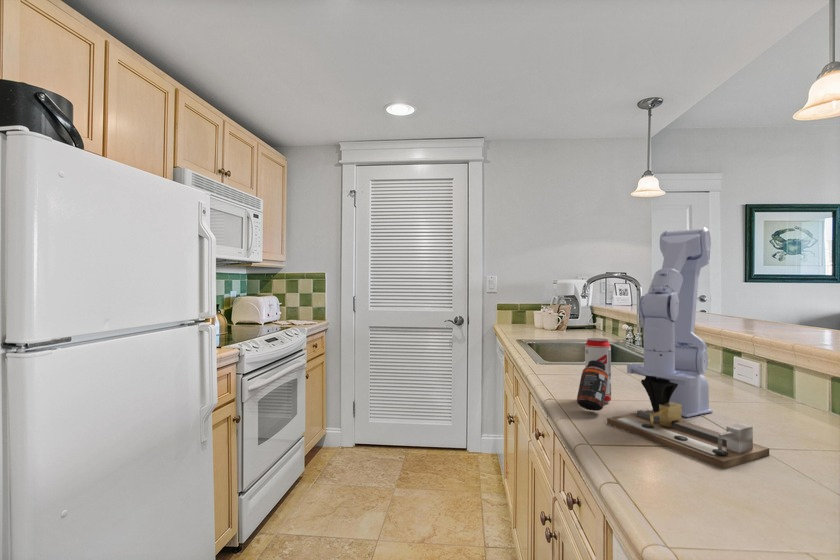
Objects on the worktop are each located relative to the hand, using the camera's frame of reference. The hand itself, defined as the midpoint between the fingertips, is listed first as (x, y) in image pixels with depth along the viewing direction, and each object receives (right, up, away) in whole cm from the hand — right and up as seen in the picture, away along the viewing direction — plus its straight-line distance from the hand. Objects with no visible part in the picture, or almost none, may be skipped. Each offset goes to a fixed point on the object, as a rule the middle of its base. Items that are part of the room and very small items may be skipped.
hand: (659, 413), depth 88 cm
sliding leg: (-1, -2, -3) cm, 3 cm away
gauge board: (+1, -3, -6) cm, 6 cm away
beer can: (-5, -3, +19) cm, 20 cm away
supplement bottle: (-11, -2, +10) cm, 15 cm away
